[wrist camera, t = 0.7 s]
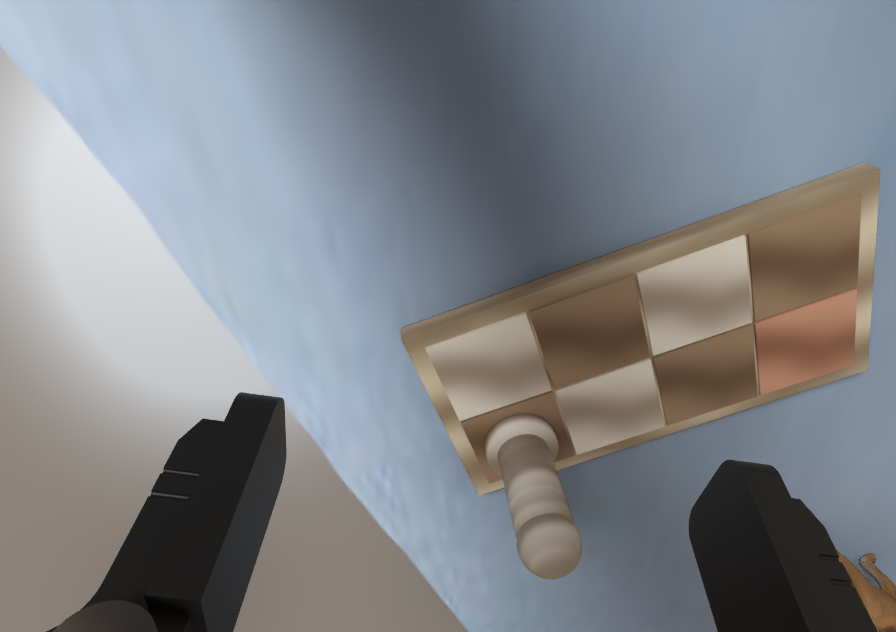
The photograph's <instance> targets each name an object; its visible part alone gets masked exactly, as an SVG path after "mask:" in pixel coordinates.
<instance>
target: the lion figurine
mask: <svg viewBox="0 0 896 632" xmlns="http://www.w3.org/2000/svg"><path fill="white" fill-rule="evenodd" d="M836 551H837V550H836ZM837 553H838V555H839V562H843V564H844V566H845V568H846V570H847V572H848V574H849V576H850V578H851V580H852V582H851V585H852V587H855V588H856V590H857V592H858V594H859V596H860V598H861V600H862V602H863V604H864V606H865V608H866V609H867V611H868V613H869V615H870V617H871V619H872V621H873V623H874V625H875V627H876V629H878V631H879V632H896V586H895V585H894V584H893V582H892V581H891V580H890V579H889V578H888V577H887V576H886V575H884V574H883V573H882V572H881V571H880V570H879V569H878V568H877V567H876V566H875V565H874V563H875V561H876V557H875V555H874V554H867V555H865V556H863V557H862V558H861V559H860V563H861V565H862V567H863V568H864V569H865V570H866V571H867V572H868V573H869V574H870V575H871V576H872V577H873V578H874V579H875V580H876V582H877V583H878V585H879V588H878V587H876V586H874V585H872V584H870V583H869V582H868V580H867V579H866V578H865V577H864V575H863V574H862V573H861V571H860V570H859V569H858V568H857V567H856V566H855V565H854V564H853V563H852V562H851V561H850V560H848V559H847V558H846V557H845V556H843V555H842V554H841V553H839V552H838V551H837Z"/></svg>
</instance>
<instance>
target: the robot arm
mask: <svg viewBox="0 0 896 632" xmlns="http://www.w3.org/2000/svg"><path fill="white" fill-rule="evenodd" d="M285 463H286V431H285V406H284V400H283V398H279V397H272V396H264V395H256V394H249V393H239V394H238V395H237V396H236V398H235V399H234V401H233V403H232V406H231V408H230V410H229V412H228V414H227V416H226V418H225V421H224V422H223V421H217V420H209V419H202V420H201V421H200V422H199V423H197V424H196V425H195V426H194V427H193V428H192V429H191V430H189V431H188V432H187V433H186V434H185V435H184V436H183V437H182V438H180V439H179V440H178V442H177V444H176V445H175V447H174V450H173V451H172V453H171V455H170V457H169V459H168V460H167V463H166V464H165V466H164V470H163V473H161V474H160V475H159V478H158V479H157V481H156V483H155V485H154V487H153V489H152V492H151V496H150V497H148V498H147V500H146V502H145V504H144V506H143V508H142V510H141V511H140V513H139V515H138V517H137V519H136V521H135V523H134V525H133V526H132V528H131V530H130V532H129V534H128V536H127V538H126V540H125V541H124V543H123V545H122V547H121V549H120V551H119V553H118V555H117V557H116V558H115V560H114V562H113V564H112V566H111V568H110V570H109V572H108V574H107V575H106V577H105V579H104V581H103V583H102V584H101V586H100V588H99V589H98V591H97V592H96V594H95V595H94V596H93V597H92V599H91V600H90V601H89V602H88V603H87V604H86V605H85V606H84V607H83V608H82V609H81V610H80V611H78V612H76V613H75V614H73V615H72V616H70V617H69V618H67V619H66V620H65V621H64V622H63V623H61V624H60V625H59V626H57V627H55V628H53V629H51V630H49V631H47V632H233V630H234V627H235V624H236V621H237V618H238V615H239V612H240V608H241V606H242V603H243V599H244V597H245V593H246V590H247V587H248V584H249V581H250V578H251V575H252V572H253V569H254V566H255V563H256V560H257V557H258V554H259V551H260V547H261V544H262V542H263V539H264V535H265V532H266V529H267V526H268V523H269V520H270V517H271V514H272V511H273V508H274V505H275V502H276V499H277V496H278V493H279V490H280V486H281V483H282V479H283V475H284V469H285ZM689 536H690V541H691V544H692V548H693V551H694V554H695V558H696V561H697V564H698V567H699V571H700V574H701V577H702V581H703V584H704V587H705V591H706V594H707V597H708V601H709V604H710V607H711V610H712V614H713V617H714V620H715V624H716V627H717V630H718V632H878V631H877V629H876V627H875V625H874V623H873V621H872V619H871V617H870V615H869V613H868V611H867V609H866V608H865V606H864V604H863V602H862V600H861V598H860V596H859V594H858V592H857V590H856V588H855V587H852V585H851V582H852V580H851V578H850V576H849V574H848V572H847V570H846V568H845V566H844V564H843V562H839V555H838V553H837V551H836V549H835V547H834V545H833V543H832V541H831V539H830V537H829V535H828V533H827V531H826V529H825V527H824V526H823V525H822V524H821V522H820V521H819V520H818V519H817V518H816V517H815V516H814V515H813V513H812V512H811V511H810V510H809V509H808V508H807V507H806V506H805V504H804V503H803V502H802V501H801V500H800V499H794V498H791V497H790V495H789V492H788V490H787V488H786V486H785V484H784V482H783V480H782V478H781V476H780V474H779V472H778V471H777V470H776V469H775V468H774V467H772V466H770V465H765V464H757V463H750V462H743V461H735V460H726V461H724V462H723V463H722V464H721V466H720V467H719V468H718V470H717V471H716V473H715V474H714V476H713V477H712V479H711V480H710V482H709V483H708V485H707V486H706V488H705V489H704V491H703V492H702V494H701V495H700V497H699V498H698V500H697V501H696V503H695V504H694V506H693V508H692V510H691V514H690V518H689Z"/></svg>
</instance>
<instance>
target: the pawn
mask: <svg viewBox="0 0 896 632" xmlns="http://www.w3.org/2000/svg"><path fill="white" fill-rule="evenodd" d="M484 446H485V451H486V456H487V461H488V464H489V466H490V467H491V469H492V470H493V471H494V472H496V473H497V474H499V475H501V476H502V478H503V483H504V487H505V491H506V495H507V500H508V504H509V508H510V512H511V517H512V521H513V525H514V530H515V534H516V538H517V550H518V554H519V557H520V559H521V561H522V562H523V564H524V565H525V567H526V568H527V569H528V570H529V571H531V572H532V573H533V574H535V575H537V576H539V577H541V578H545V579H557V578H561V577H564V576H565V575H567V574H569V573H570V572H571V571H572V570H573V569H574V568H575V567H576V565H577V564H578V562H579V559H580V557H581V552H582V542H581V537H580V534H579V531H578V529H577V528H576V526H575V525H574V522H573V519H572V516H571V513H570V510H569V507H568V504H567V501H566V498H565V495H564V492H563V489H562V486H561V483H560V480H559V477H558V474H557V471H556V468H555V465H554V461H555V459H556V457H557V455H558V451H559V445H558V441H557V438H556V435H555V433H554V430H553V428H552V426H551V424H550V423H549V422H548V421H547V420H546V419H544V418H543V417H541V416H538V415H534V414H526V413H523V414H515V415H511V416H508V417H506V418H504V419H502V420H500V421H498V422H497V423H496V424H494V425H493V426H492V427H491V428H490V430H489V431H488V433H487V435H486V437H485V441H484Z"/></svg>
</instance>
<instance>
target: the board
mask: <svg viewBox="0 0 896 632" xmlns="http://www.w3.org/2000/svg"><path fill="white" fill-rule="evenodd" d="M879 181H880V169H879V168H877V167H874V166H872V165H870V164H868V163H866V162H864V163H861V164H858V165H856V166H853V167H850V168H847V169H844V170H842V171H839V172H836V173H833V174H831V175H828V176H825V177H822V178H819V179H817V180H814V181H811V182H808V183H805V184H803V185H800V186H797V187H794V188H791V189H789V190H786V191H783V192H780V193H777V194H775V195H772V196H769V197H766V198H763V199H761V200H758V201H755V202H752V203H749V204H747V205H744V206H741V207H738V208H735V209H733V210H730V211H727V212H724V213H722V214H719V215H716V216H713V217H710V218H708V219H705V220H702V221H699V222H696V223H694V224H691V225H688V226H685V227H682V228H680V229H677V230H674V231H671V232H668V233H666V234H663V235H660V236H657V237H654V238H652V239H649V240H646V241H643V242H640V243H638V244H635V245H632V246H629V247H626V248H624V249H621V250H618V251H615V252H613V253H610V254H607V255H604V256H601V257H599V258H596V259H593V260H590V261H587V262H585V263H582V264H579V265H576V266H573V267H571V268H568V269H565V270H562V271H559V272H557V273H554V274H551V275H548V276H545V277H543V278H540V279H537V280H534V281H531V282H529V283H526V284H523V285H520V286H517V287H515V288H512V289H509V290H506V291H504V292H501V293H498V294H495V295H492V296H490V297H487V298H484V299H481V300H478V301H476V302H473V303H470V304H467V305H464V306H462V307H459V308H456V309H453V310H450V311H448V312H445V313H442V314H439V315H436V316H434V317H431V318H428V319H425V320H422V321H420V322H417V323H414V324H411V325H408V326H406V327H403V328H401V340H402V342H403V344H404V346H405V348H406V350H407V352H408V354H409V356H410V358H411V360H412V362H413V364H414V366H415V368H416V370H417V372H418V374H419V376H420V378H421V380H422V382H423V384H424V386H425V388H426V390H427V392H428V394H429V396H430V398H431V400H432V402H433V404H434V406H435V408H436V410H437V412H438V414H439V416H440V418H441V420H442V422H443V424H444V426H445V428H446V430H447V432H448V434H449V436H450V438H451V440H452V442H453V444H454V446H455V448H456V450H457V452H458V454H459V456H460V459H461V461H462V463H463V465H464V467H465V469H466V471H467V473H468V475H469V477H470V479H471V481H472V483H473V485H474V487H475V489H476V491H477V493H478V495H482V494H485V493H489V492H492V491H495V490H498V489H501V488H504V483H503V478H502V476H501V475H499V474H497V473H496V472H494V471H493V470H492V469H491V467H490V466H489V464H488V461H487V456H486V451H485V446H484V441H485V437H486V435H487V433H488V431H489V430H490V428H491V427H492V426H493V425H494V424H496V423H497V422H498V421H500V420H502V419H504V418H506V417H508V416H511V415H515V414H523V413H526V414H534V415H538V416H541V417H543V418H544V419H546V420H547V421H548V422H549V423H550V424H551V426H552V428H553V430H554V433H555V435H556V438H557V441H558V445H559V451H558V455H557V457H556V459H555V461H554V465H555V468H556V471H557V470H560V469H563V468H566V467H569V466H572V465H575V464H578V463H581V462H584V461H588V460H591V459H594V458H597V457H600V456H603V455H606V454H609V453H612V452H615V451H618V450H622V449H625V448H628V447H631V446H634V445H637V444H640V443H643V442H646V441H649V440H653V439H656V438H659V437H662V436H665V435H668V434H671V433H674V432H677V431H680V430H683V429H687V428H690V427H693V426H696V425H699V424H702V423H705V422H708V421H711V420H714V419H717V418H721V417H724V416H727V415H730V414H733V413H736V412H739V411H742V410H745V409H748V408H752V407H755V406H758V405H761V404H764V403H767V402H770V401H773V400H776V399H779V398H782V397H786V396H789V395H792V394H795V393H798V392H801V391H804V390H807V389H810V388H813V387H816V386H820V385H823V384H826V383H829V382H832V381H835V380H838V379H841V378H844V377H847V376H850V375H854V374H857V373H860V372H863V371H866V370H868V357H869V341H870V325H871V309H872V293H873V277H874V261H875V245H876V229H877V213H878V197H879Z"/></svg>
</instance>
